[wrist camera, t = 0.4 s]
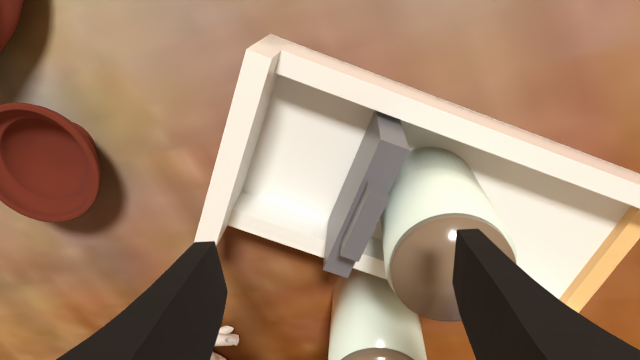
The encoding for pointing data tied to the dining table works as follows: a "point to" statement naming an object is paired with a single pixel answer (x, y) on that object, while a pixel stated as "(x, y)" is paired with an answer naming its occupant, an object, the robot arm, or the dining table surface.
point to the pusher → (364, 193)
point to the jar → (372, 322)
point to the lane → (420, 131)
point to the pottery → (43, 153)
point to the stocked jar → (434, 229)
